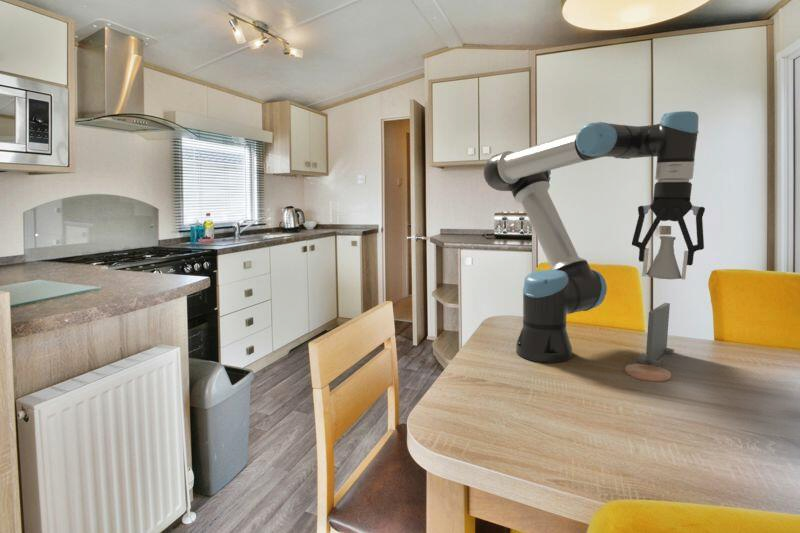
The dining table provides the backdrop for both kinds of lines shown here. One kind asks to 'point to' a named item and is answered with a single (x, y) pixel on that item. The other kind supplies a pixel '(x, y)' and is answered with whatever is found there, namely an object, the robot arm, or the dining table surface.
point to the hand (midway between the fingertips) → (663, 276)
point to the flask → (665, 261)
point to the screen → (657, 335)
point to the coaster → (648, 372)
